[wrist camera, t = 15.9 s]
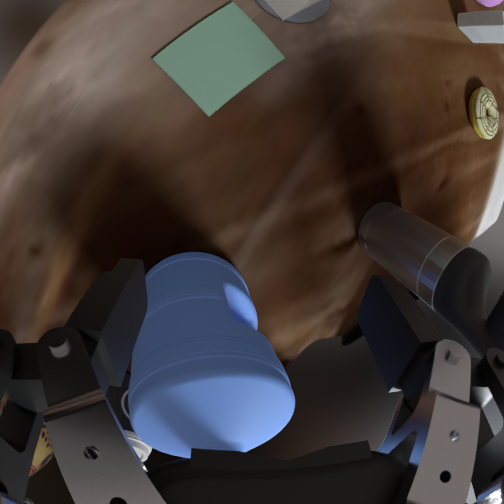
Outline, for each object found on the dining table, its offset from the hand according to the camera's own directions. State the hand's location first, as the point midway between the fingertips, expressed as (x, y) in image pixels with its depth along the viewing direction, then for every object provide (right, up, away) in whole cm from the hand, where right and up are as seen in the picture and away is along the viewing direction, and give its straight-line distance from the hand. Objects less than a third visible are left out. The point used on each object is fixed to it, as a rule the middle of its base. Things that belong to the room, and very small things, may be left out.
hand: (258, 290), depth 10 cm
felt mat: (-4, +24, +18) cm, 30 cm away
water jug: (-9, -5, +31) cm, 32 cm away
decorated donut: (+45, +30, +29) cm, 62 cm away
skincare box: (+42, +45, +20) cm, 65 cm away
